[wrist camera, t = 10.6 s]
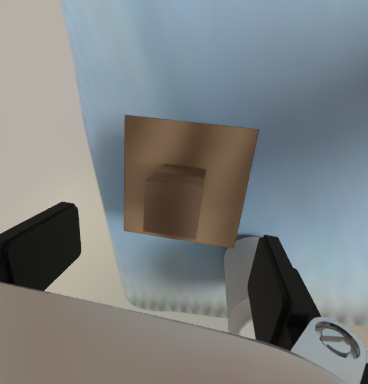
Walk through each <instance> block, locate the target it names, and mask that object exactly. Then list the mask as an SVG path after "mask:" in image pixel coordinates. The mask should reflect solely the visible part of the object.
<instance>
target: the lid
mask: <svg viewBox="0 0 368 384" xmlns="http://www.w3.org/2000/svg"><path fill="white" fill-rule="evenodd" d="M258 132H259V129H250V128H241V127H232V126H223V125H213V124H204V123H195V122H186V121H176V120H167V119H158V118H149V117H139V116H130V115H125V149H124V231H129V232H135V233H141V234H147V235H153V236H159V237H165V238H172V239H178V240H184V241H190V242H196V243H202V244H208V245H215V246H221V247H227V248H233V249H234V247H235V242H236V237H237V232H238V228H239V223H240V218H241V213H242V209H243V204H244V199H245V194H246V189H247V185H248V180H249V175H250V170H251V166H252V161H253V156H254V151H255V147H256V142H257V137H258Z"/></svg>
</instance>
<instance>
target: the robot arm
mask: <svg viewBox="0 0 368 384" xmlns="http://www.w3.org/2000/svg"><path fill="white" fill-rule="evenodd" d="M80 254H81V241H80V228H79V216H78V209H77V207H76V206H75V204H73V203H66V202H60V203H58V204H57V205H55V206H53V207H51V208H49V209H47V210H45V211H43V212H41V213H40V214H37V215H35V216H34V217H32V218H30V219H28V220H26V221H24V222H22V223H20V224H18V225H16V226H14V227H12V228H11V229H9V230H7V231H5V232H3V233H1V234H0V384H368V363H366V361H367V352H366V350H365V347H364V346H363V344H362V343H361V341H360V340H359V338H358V337H357V336H355V334H354V333H353V332H351V331H350V330H349V329H348V328H346V327H345V326H344V325H342V324H340V323H338V322H336V321H334V320H332V319H329V318H324V317H321V315H320V313H319V311H318V309H317V307H316V305H315V304H314V302H313V300H312V298H311V296H310V294H309V292H308V290H307V288H306V286H305V284H304V282H303V280H302V278H301V276H300V275H299V273H298V271H297V270H296V269H295V268H293V267H292V265H291V263H290V261H289V259H288V257H287V255H286V253H285V251H284V249H283V247H282V245H281V243H280V241H279V239H278V237H274V236H268V235H264V237H263V238H262V237H260V238H259V240H258V244H257V248H256V252H255V256H254V260H253V264H252V268H251V272H250V276H249V280H248V285H247V289H248V296H249V302H250V308H251V314H252V320H253V326H254V332H255V338H256V340H255V339H252V338H248V337H244V336H240V335H237V334H233V333H229V332H225V331H220V330H216V329H211V328H207V327H203V326H198V325H194V324H190V323H185V322H181V321H177V320H172V319H168V318H163V317H159V316H155V315H150V314H146V313H141V312H136V311H132V310H128V309H123V308H119V307H114V306H110V305H105V304H101V303H96V302H92V301H87V300H82V299H78V298H73V297H68V296H64V295H60V294H55V293H50V292H45V291H44V290H45V289H46V288H47V287H48V286H49V285H50V284H51V283H52V282H53V281H54V280H55V279H57V277H59V276H60V275H61V274H62V273H63V272H64V271H65V270H66V269H67V268H68V267H69V266H70V265H71V264H72V263H73V262H74V261H75V260H76V259H77V258H78V257H79V256H80Z"/></svg>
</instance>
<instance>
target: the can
mask: <svg viewBox="0 0 368 384" xmlns="http://www.w3.org/2000/svg"><path fill="white" fill-rule="evenodd" d="M259 238H260V237H246V238H242V239H239V240H237V241H236V242H235V247H234V249H233V248H228V249H227V250H226V252H225V255H224V272H225V286H226V301H227V315H228V329H229V332H230V333H233V334H237V335H240V336H244V337H248V338H252V339H255V340H256V338H255V332H254V326H253V320H252V314H251V308H250V302H249V296H248V289H247V285H248V280H249V276H250V272H251V268H252V264H253V260H254V256H255V252H256V248H257V244H258V240H259Z"/></svg>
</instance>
